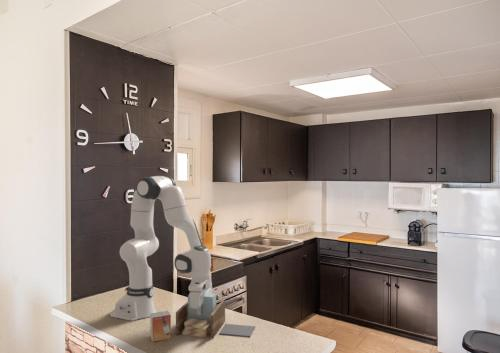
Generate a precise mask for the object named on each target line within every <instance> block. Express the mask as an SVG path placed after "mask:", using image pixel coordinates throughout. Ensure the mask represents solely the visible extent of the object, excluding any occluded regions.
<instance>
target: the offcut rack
mask: <svg viewBox="0 0 500 353" xmlns="http://www.w3.org/2000/svg"><path fill="white" fill-rule="evenodd" d="M187 320H188V300H187V301H186V302H185V303H184V304H183V305H182V306H181V307H179V309H177V310H176V312H175V335H176V336H179V335H180V334H182V333H183V330H184V329H185V326H184V322H185V321H187ZM225 322H226V300H224V299H223V300H221V302H219V304H218V305H216V309H215V310H214V311H213V312H212V313H211V315H210V329H211V332H210V339H214V338H215V336H216V335H217V334H218V333H219V332H220V329H222V327H223V326H224V325H225Z"/></svg>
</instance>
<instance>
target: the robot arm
mask: <svg viewBox="0 0 500 353" xmlns="http://www.w3.org/2000/svg"><path fill="white" fill-rule="evenodd" d="M185 198H186V197H185V195H184V193H183V190H182V188H181V187H179V186H178V185H177V183H176V181H175V179H174V178H172V177H170V176H167V175H155V176H154V175H153V176H145V177H142V178H140V179H139V180H138V181H137V182H136V190H135V191H134V192H133V196H132V200H131V208H130V220H129V221H130V222H129V224H130V227H131V229H133V231H134V237H133V238H131V239H128V240H127V241H125V242H124V243H123V244H122V245H121V246H120V249H119V256H120V258H121V259H122V261H123V262H125V264H126V267H127V269H128V277H129V279H128V280H129V285H128V286H127V287H125V289H124V292H126V293H125V294H124V295H123V296H121V297H120V298H119V299H118V300H117V301H115V302H116V303H115V305H114V309H113V310H112V311H111V312H110V313H109V317H111V318H116V319H121V320H126V321H134V322H135V321H136V320H139V319H140V320H141V319H146V318H150V313H157V310H156V307H155V302H154V284H153V270H152V268H151V267H150V266H149V264H148V260H147V257H149V256H152V255H153V254H154V253H155V252H157V251H158V249H159V247H160V241H159V238H158V237H157V236H156V234H155V227H154V216H155V215H154V214H155V213H154V212H155V201H156V200H157V199H158V200H160V201H161V204H162V208H163V214H164V218H165V220H166V222H167V224H168V225H169V226H171V227H173V228H175V229H179V230H181V231H183V233H185V235H186V238H187V242H188V244H189V247H190V249H189V250H187V251H184V252H181V253H179V254H177V255H175V258H174V263H173V264H174V267H175V270H176V272H178V273H180V274H191V280H190V281H191V282H190V284H189V285H188V291H189V294H190V295H189V294H188V295H189V296H190V307H191V309H196V310H197V315H201V314H202V310H201V306H202V304H203V303H204V296H205V295H206V294H207V293H211V294H213V283H212V271H211V267H212V257H211V252H210V248H208V247H207V246H204V245H203V242H202V240H201V236H200V233H199V231H198V227H197V225H196V223H195V220H194V219H193V218H192V216H191V214H190V213H189V209H188V206H187V202H186V199H185Z"/></svg>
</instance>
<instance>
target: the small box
mask: <svg viewBox="0 0 500 353" xmlns="http://www.w3.org/2000/svg"><path fill="white" fill-rule="evenodd" d="M171 317H172V316H171V313H170V311H169V310H164V311H163V310H162V311H158V312H157V311H156V313H150V317H149V319H150V320H149V322H150V325H149V326H150V327H149V328H150V329H149V330H150V333H149V334H150V339H151V342H152V343H154V342H158V341H164V340H170V339H171V338H172V334H171V333H172V332H171V330H172V326H171V325H172V323H171V320H172V319H171Z"/></svg>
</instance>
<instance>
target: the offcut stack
mask: <svg viewBox="0 0 500 353" xmlns="http://www.w3.org/2000/svg"><path fill="white" fill-rule="evenodd" d="M184 326H185V329H184V330H183V331H182V335H184V336H185V335H186V336H191V337H192V336H193V337H199V338H207V336H209V335H210V334H211V329H210V323H208V321H206V320H200V319H194V318H190V319H188V320H187V321H185V322H184Z"/></svg>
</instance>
